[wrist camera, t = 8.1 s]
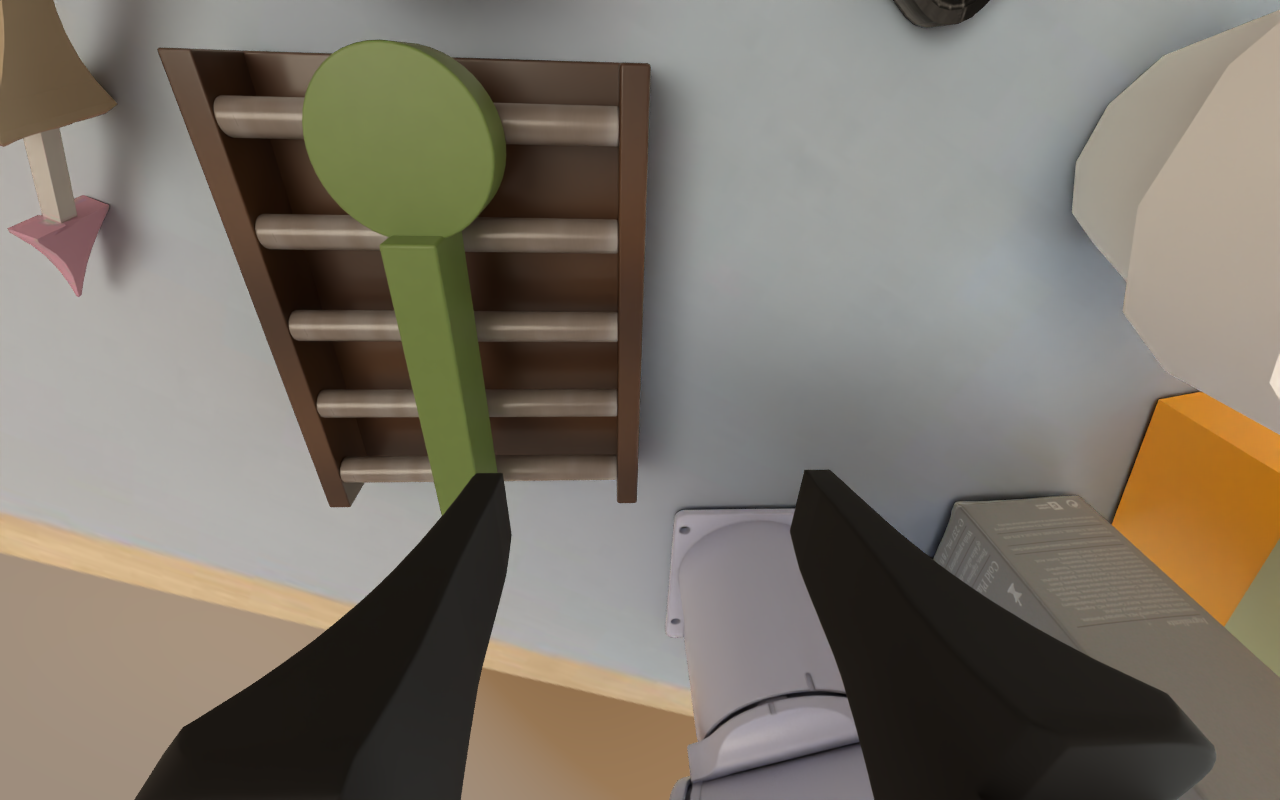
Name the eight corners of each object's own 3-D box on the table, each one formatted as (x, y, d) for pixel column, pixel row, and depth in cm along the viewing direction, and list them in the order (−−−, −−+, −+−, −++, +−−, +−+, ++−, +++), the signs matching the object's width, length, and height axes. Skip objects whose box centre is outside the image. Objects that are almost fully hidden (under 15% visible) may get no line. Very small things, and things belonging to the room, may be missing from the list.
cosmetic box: (951, 495, 26) (1315, 955, 13) (1094, 489, 26) (1602, 934, 13) (908, 607, 30) (1142, 1033, 17) (1030, 600, 31) (1356, 1016, 17)
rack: (634, 457, 24) (637, 503, 22) (359, 459, 23) (329, 507, 21) (644, 63, 16) (651, 63, 14) (230, 50, 15) (155, 47, 13)
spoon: (539, 484, 21) (530, 534, 19) (423, 485, 20) (400, 536, 18) (496, 45, 13) (474, 41, 11) (313, 39, 13) (252, 34, 11)
